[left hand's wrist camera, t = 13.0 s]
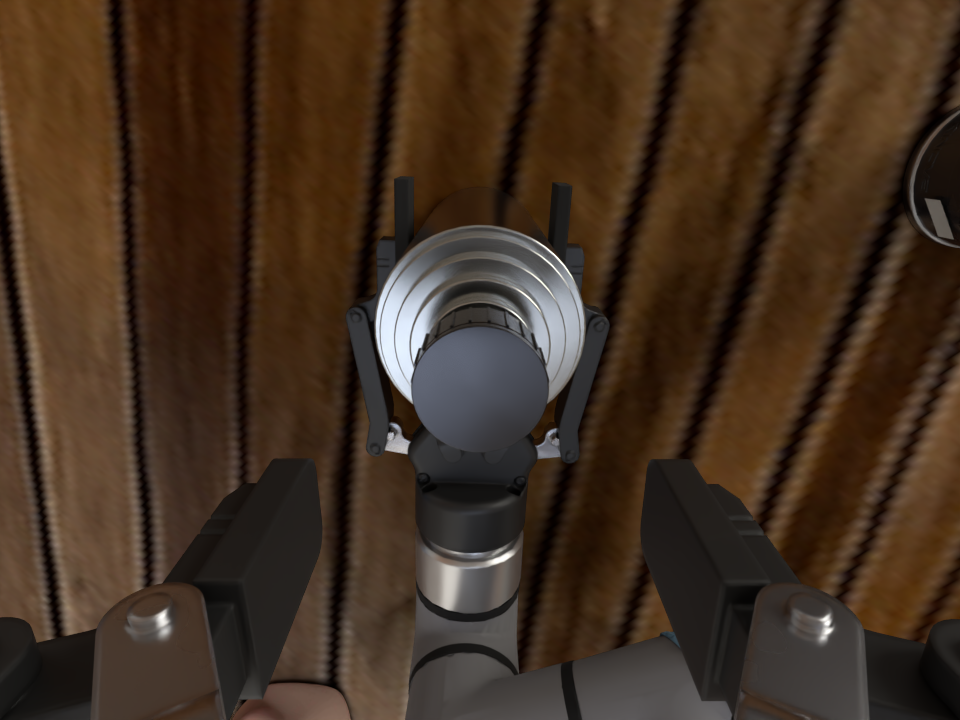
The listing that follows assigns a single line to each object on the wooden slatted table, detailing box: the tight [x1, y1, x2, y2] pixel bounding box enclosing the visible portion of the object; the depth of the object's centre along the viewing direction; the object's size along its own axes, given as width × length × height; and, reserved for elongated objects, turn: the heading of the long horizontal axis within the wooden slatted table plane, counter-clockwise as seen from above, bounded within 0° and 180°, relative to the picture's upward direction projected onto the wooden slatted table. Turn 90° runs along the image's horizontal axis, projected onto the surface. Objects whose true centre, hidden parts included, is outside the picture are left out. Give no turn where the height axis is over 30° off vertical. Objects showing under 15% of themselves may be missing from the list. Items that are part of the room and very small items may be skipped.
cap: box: [411, 307, 550, 452], centre depth 18 cm, size 4×4×2 cm
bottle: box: [374, 187, 586, 404], centre depth 29 cm, size 8×8×24 cm
